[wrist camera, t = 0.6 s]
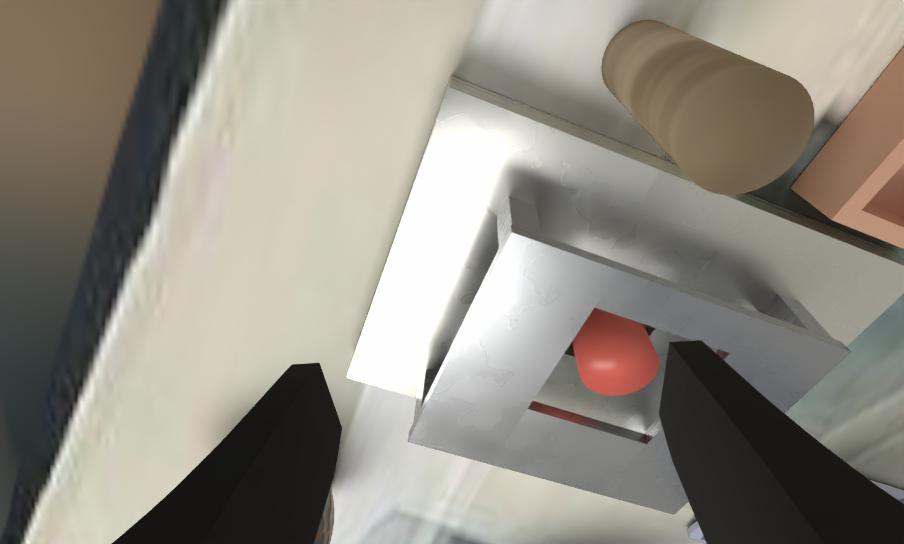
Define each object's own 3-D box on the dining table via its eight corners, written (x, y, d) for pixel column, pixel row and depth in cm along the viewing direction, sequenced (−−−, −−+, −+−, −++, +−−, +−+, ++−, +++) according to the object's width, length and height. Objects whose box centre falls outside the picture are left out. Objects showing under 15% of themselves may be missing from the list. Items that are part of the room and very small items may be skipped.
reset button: (653, 309, 20) (674, 352, 18) (616, 358, 21) (632, 403, 19) (590, 287, 19) (603, 328, 17) (556, 339, 21) (565, 383, 19)
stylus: (695, 37, 16) (844, 100, 9) (652, 111, 17) (756, 210, 11) (626, 7, 15) (732, 51, 9) (588, 85, 16) (656, 171, 10)
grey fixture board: (893, 250, 19) (992, 323, 16) (691, 452, 26) (726, 536, 22) (450, 75, 16) (442, 112, 13) (353, 352, 23) (330, 429, 20)
